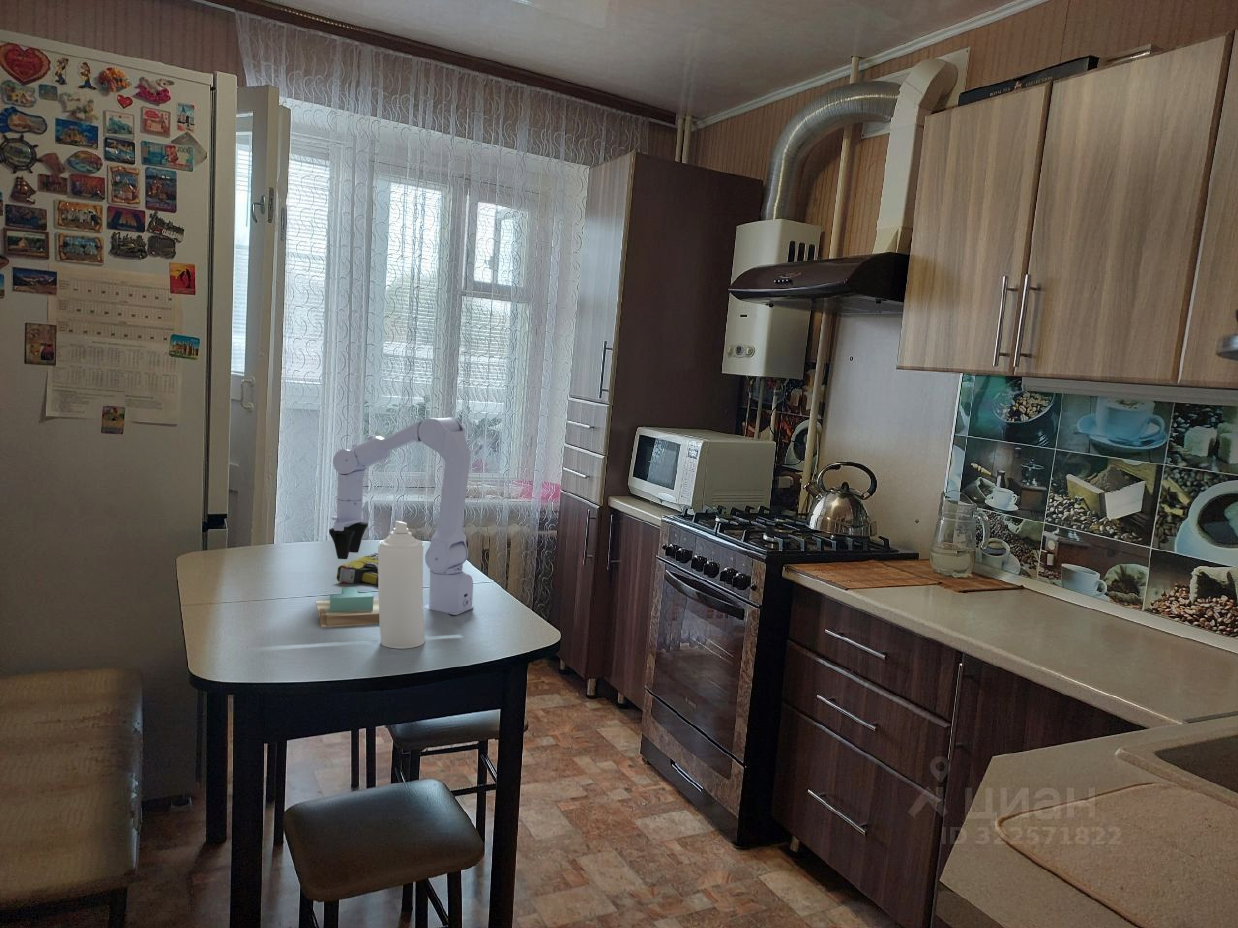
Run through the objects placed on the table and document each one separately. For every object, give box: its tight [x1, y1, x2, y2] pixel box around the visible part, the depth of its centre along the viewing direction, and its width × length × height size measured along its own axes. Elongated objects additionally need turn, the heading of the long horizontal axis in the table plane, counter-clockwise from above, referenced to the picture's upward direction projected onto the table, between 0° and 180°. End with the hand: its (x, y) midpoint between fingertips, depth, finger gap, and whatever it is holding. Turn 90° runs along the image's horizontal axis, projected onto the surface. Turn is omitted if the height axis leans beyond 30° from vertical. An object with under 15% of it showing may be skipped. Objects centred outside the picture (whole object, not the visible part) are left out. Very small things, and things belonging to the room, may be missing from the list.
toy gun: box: [336, 552, 378, 588], centre depth 214 cm, size 5×24×15 cm
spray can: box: [377, 520, 426, 650], centre depth 161 cm, size 12×11×25 cm
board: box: [315, 597, 380, 628], centre depth 180 cm, size 20×14×3 cm
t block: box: [329, 586, 375, 612], centre depth 184 cm, size 9×9×3 cm
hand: (348, 555), depth 195 cm, fingers open, 7 cm apart
